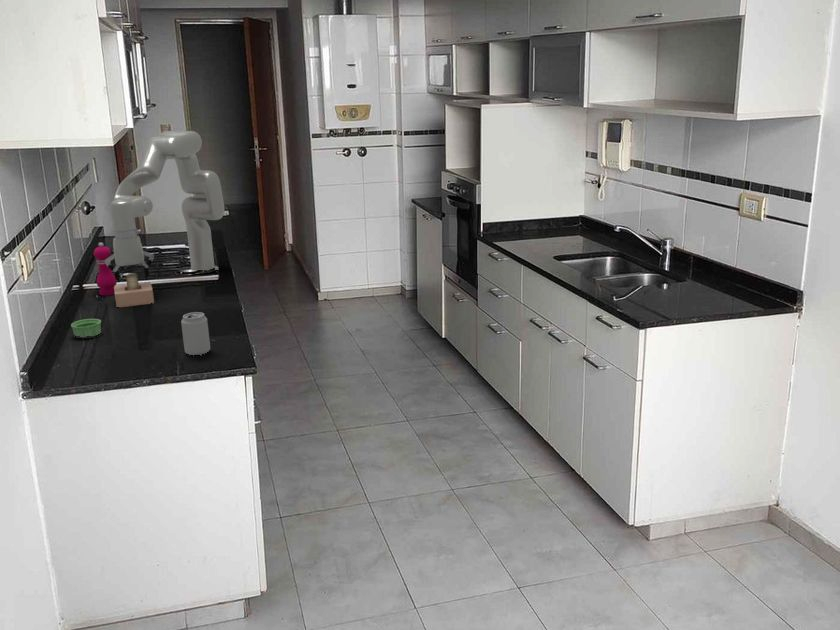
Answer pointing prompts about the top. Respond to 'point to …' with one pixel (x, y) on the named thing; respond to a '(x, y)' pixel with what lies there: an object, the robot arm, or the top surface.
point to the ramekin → (86, 327)
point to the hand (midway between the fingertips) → (132, 279)
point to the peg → (132, 281)
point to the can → (195, 333)
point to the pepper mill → (104, 271)
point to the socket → (134, 295)
